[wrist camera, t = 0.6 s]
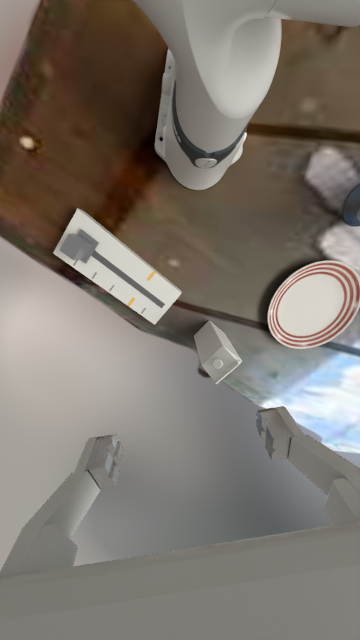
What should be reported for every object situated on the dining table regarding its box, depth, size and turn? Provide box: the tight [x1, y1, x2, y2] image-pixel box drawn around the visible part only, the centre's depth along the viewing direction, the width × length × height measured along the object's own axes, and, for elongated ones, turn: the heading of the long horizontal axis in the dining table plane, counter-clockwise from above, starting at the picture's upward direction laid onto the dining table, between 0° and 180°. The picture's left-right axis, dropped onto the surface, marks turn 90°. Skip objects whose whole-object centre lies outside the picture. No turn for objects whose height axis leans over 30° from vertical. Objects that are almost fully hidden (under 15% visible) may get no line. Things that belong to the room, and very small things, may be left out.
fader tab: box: [60, 229, 99, 264], centre depth 38 cm, size 4×6×6 cm
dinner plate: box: [267, 260, 360, 349], centre depth 53 cm, size 28×27×3 cm
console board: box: [53, 209, 181, 325], centre depth 46 cm, size 30×12×3 cm, turn 50°
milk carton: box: [194, 321, 242, 384], centre depth 48 cm, size 7×7×19 cm
